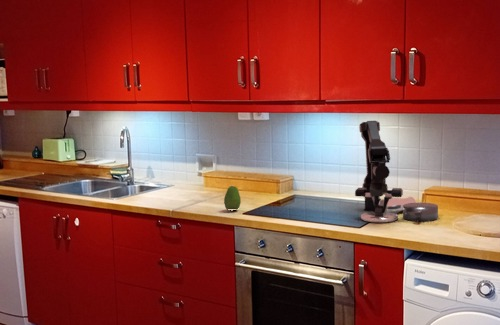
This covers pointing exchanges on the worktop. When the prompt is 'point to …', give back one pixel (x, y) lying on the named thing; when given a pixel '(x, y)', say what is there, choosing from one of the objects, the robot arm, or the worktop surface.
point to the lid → (379, 215)
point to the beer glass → (397, 204)
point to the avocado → (232, 198)
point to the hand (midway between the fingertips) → (379, 212)
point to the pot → (420, 212)
